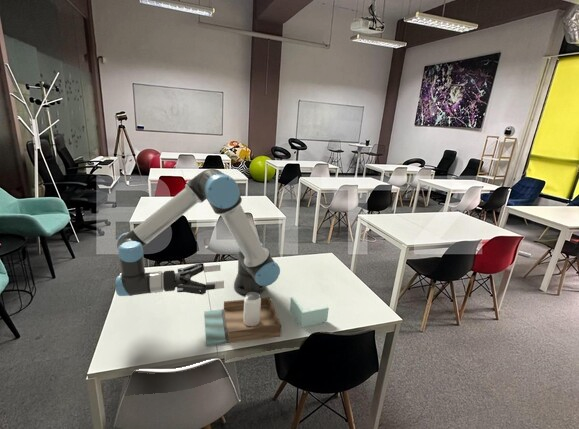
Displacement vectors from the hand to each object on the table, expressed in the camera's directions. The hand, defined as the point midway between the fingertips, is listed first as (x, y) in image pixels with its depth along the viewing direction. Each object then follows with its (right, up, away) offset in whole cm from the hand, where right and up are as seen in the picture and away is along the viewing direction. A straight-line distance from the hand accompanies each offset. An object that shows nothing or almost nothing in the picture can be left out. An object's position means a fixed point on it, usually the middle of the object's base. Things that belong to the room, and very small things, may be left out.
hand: (222, 275), depth 124 cm
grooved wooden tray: (+7, -21, +5) cm, 22 cm away
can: (+11, -20, +4) cm, 23 cm away
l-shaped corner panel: (+34, -21, +14) cm, 42 cm away
